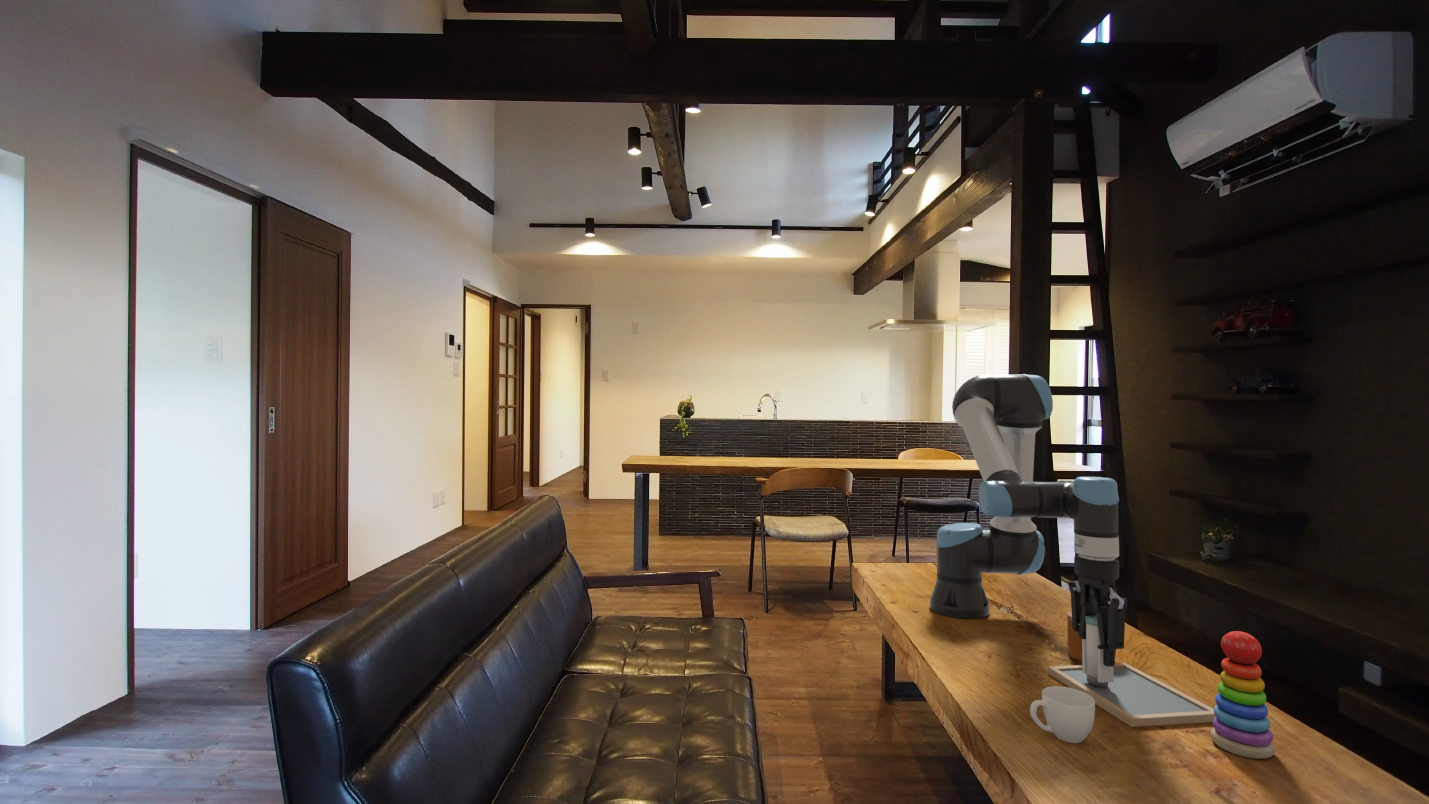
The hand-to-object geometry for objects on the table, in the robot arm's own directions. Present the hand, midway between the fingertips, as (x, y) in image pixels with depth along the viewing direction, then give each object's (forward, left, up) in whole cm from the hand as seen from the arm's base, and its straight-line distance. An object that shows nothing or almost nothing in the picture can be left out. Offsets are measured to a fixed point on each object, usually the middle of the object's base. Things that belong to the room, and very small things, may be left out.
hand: (1097, 676), depth 122 cm
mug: (-14, +10, -3) cm, 18 cm away
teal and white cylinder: (0, 0, -1) cm, 1 cm away
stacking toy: (+22, +8, -3) cm, 24 cm away
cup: (+15, -19, -3) cm, 24 cm away
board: (+3, +4, -3) cm, 6 cm away
